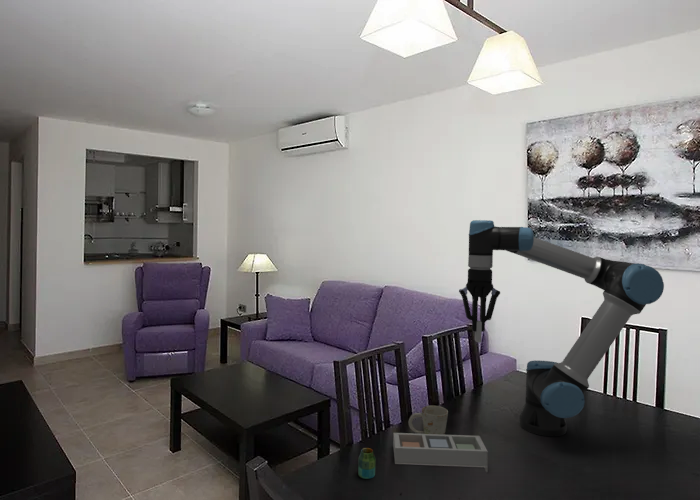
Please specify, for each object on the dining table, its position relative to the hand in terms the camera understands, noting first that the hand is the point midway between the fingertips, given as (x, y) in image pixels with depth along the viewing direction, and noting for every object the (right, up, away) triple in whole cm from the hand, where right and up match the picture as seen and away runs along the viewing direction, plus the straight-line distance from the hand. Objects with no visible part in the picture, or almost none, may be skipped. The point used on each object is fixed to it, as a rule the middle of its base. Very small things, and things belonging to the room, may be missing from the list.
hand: (477, 341), depth 151 cm
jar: (-37, -33, -24) cm, 55 cm away
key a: (-7, -31, -13) cm, 35 cm away
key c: (-23, -31, -13) cm, 41 cm away
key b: (-15, -30, -13) cm, 36 cm away
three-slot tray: (-15, -33, -13) cm, 38 cm away
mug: (-16, -32, +1) cm, 36 cm away
